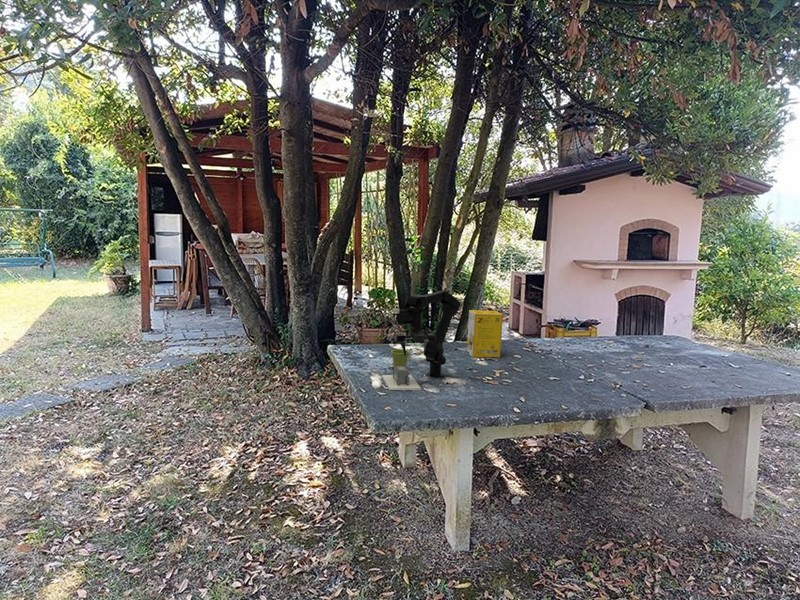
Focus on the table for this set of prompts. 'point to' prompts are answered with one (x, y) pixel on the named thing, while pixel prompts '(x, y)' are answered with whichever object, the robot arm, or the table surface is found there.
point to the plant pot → (399, 357)
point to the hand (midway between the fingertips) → (414, 355)
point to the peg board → (392, 385)
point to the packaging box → (484, 333)
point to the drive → (401, 374)
